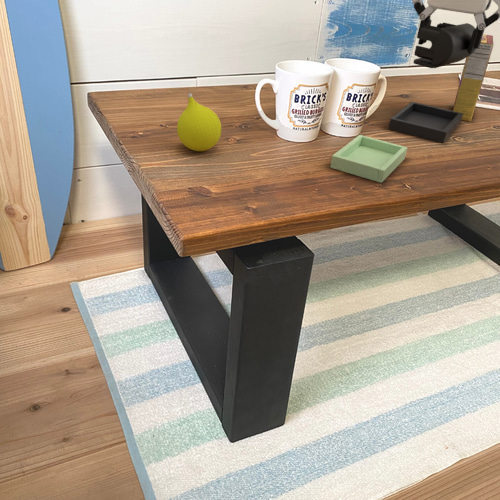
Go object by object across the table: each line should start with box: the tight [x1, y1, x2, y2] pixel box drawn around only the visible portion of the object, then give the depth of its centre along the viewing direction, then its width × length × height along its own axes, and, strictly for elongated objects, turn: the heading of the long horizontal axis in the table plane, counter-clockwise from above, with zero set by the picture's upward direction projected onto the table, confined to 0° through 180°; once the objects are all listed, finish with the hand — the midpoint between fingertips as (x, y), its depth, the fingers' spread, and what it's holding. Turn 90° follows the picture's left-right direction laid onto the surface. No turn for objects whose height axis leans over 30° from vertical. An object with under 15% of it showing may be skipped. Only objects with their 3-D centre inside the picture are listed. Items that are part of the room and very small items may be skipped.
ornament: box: [176, 92, 222, 152], centre depth 81 cm, size 7×7×10 cm
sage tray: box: [329, 134, 408, 184], centre depth 83 cm, size 9×12×2 cm
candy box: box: [452, 33, 495, 122], centre depth 104 cm, size 9×4×15 cm, turn 158°
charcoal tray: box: [387, 101, 463, 144], centre depth 100 cm, size 11×14×2 cm
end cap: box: [413, 22, 476, 69], centre depth 92 cm, size 10×7×7 cm
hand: (446, 47), depth 92 cm, fingers closed on end cap, 8 cm apart
